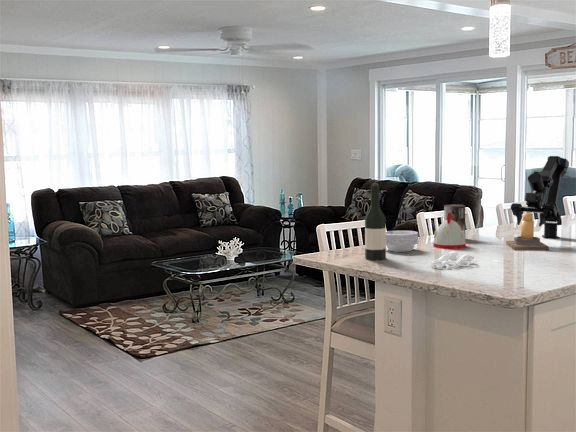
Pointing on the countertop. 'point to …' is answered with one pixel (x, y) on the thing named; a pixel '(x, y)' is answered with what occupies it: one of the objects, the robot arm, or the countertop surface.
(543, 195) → the robot arm
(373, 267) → the countertop surface
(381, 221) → the wine bottle
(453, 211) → the coffee box
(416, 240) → the paper bowls
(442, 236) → the kitchen timer
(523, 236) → the wooden peg doll
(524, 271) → the countertop surface
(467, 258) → the crumpled white cloth
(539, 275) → the countertop surface
